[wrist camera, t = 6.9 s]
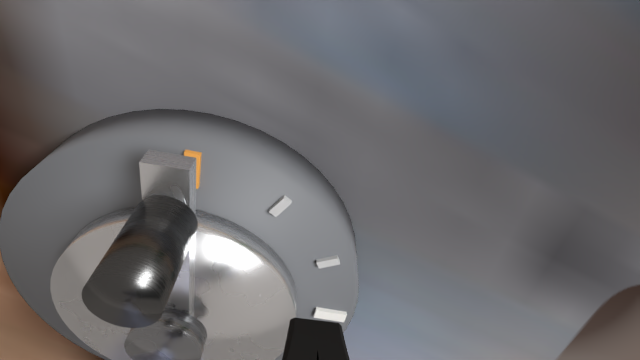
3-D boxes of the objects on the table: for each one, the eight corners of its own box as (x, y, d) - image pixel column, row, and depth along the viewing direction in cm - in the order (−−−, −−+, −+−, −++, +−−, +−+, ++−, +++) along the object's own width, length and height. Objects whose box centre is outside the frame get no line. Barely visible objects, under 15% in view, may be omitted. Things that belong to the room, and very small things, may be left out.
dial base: (146, 363, 28) (129, 403, 25) (-46, 164, 19) (-97, 199, 16) (385, 321, 25) (391, 362, 22) (295, 59, 16) (290, 84, 13)
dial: (281, 370, 23) (269, 487, 18) (83, 346, 22) (17, 463, 17) (331, 162, 15) (332, 274, 10) (24, 110, 14) (-128, 209, 9)
